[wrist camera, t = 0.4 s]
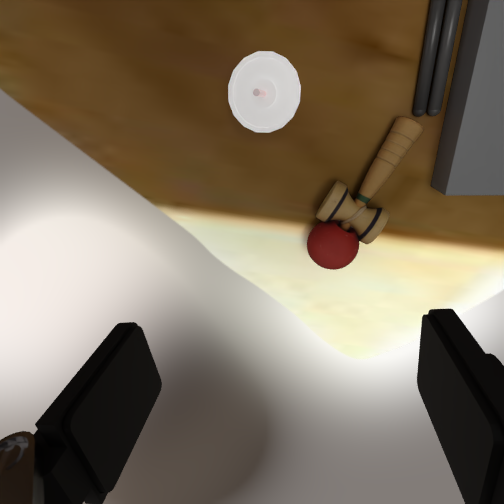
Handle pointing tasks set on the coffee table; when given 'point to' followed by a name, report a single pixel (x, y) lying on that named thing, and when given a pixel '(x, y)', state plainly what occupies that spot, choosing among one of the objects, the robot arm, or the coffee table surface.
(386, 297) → the coffee table surface
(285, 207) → the coffee table surface
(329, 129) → the coffee table surface
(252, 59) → the beverage cup
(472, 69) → the switch panel
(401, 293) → the coffee table surface
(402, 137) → the kendama
